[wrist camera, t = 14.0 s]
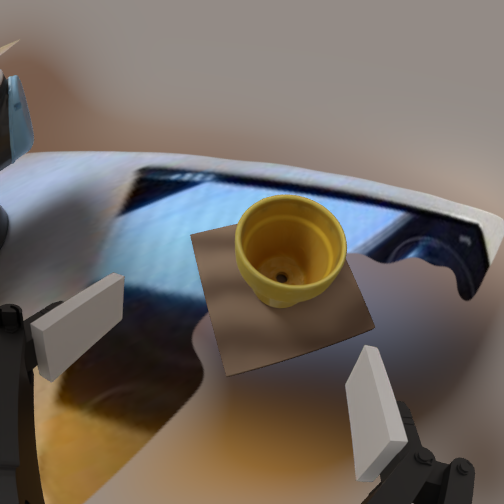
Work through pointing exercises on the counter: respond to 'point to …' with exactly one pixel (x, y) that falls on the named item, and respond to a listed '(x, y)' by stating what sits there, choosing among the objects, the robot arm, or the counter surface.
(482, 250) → the counter surface
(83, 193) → the counter surface
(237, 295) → the walnut board
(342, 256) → the plant pot
